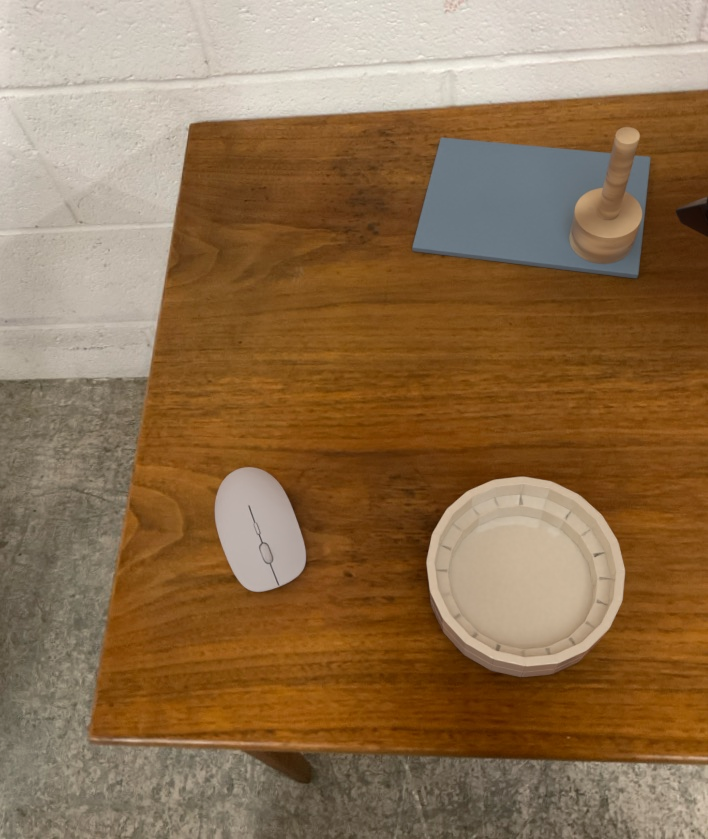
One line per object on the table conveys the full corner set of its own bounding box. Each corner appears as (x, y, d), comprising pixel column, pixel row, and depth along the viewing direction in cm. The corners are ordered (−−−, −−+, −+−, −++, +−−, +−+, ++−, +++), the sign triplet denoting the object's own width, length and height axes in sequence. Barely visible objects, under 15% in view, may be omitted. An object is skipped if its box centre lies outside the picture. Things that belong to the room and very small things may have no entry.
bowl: (620, 517, 60) (632, 495, 56) (602, 697, 55) (614, 686, 51) (446, 486, 63) (446, 462, 59) (412, 654, 57) (409, 640, 53)
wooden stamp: (646, 250, 70) (680, 146, 60) (588, 272, 70) (613, 172, 59) (613, 206, 73) (641, 100, 62) (558, 228, 73) (576, 124, 62)
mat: (649, 161, 76) (650, 156, 75) (637, 279, 70) (638, 274, 69) (440, 141, 80) (440, 137, 79) (412, 251, 74) (412, 247, 73)
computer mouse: (244, 604, 60) (235, 594, 57) (208, 492, 65) (198, 477, 62) (318, 574, 61) (312, 563, 58) (277, 465, 65) (270, 449, 63)
